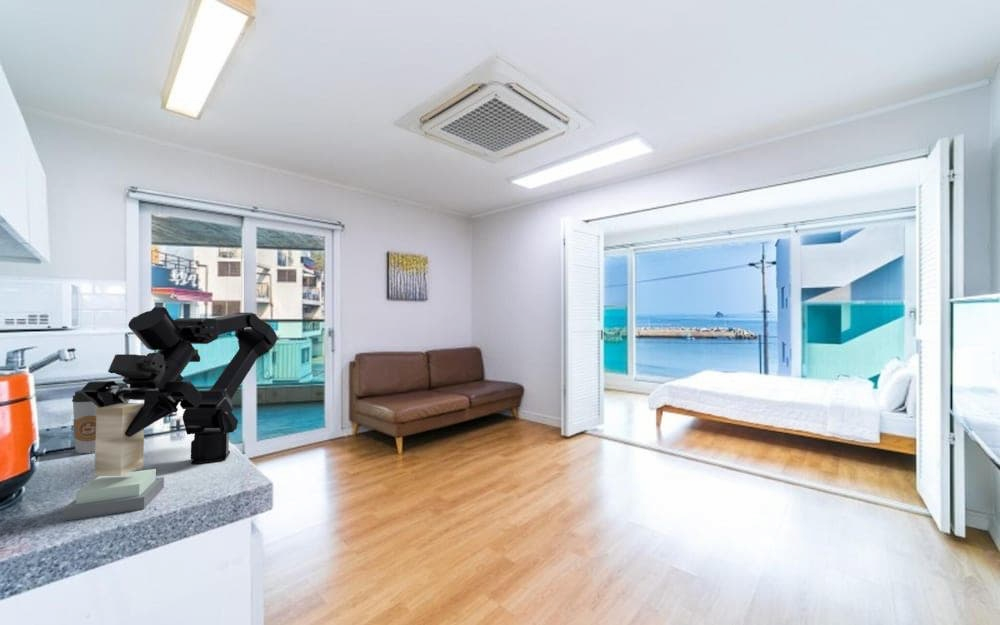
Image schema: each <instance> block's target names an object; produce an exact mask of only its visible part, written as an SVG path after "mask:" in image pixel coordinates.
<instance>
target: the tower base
mask: <svg viewBox="0 0 1000 625" xmlns="http://www.w3.org/2000/svg"><path fill="white" fill-rule="evenodd" d="M156 474H157V469H156V468H153V469H144V470H134V471H131V472H129V473H126V474H124V475H122V476H96V477H95V479H93V480H91V481H90V482H89V483H87V484H86V485H85V486H83V487H81V488H80V489H79V490H76V493H75V497H76V498H75V500H73V501H71V503H69V504H68V505H67V506H64V508H63V522H64V521H71V520H79V519H87V518H93V517H99V516H105V515H113V514H117V513H118V514H119V513H124V512H126V513H128V512H134V511H139V510H140V511H141V510H145V508H147V506H149V504H151V502H152V501H153V500H155V498H156V497H157V495H159V493H160V492H161V491H162V490H164V487H165V477H164V476H161V477H157V475H156Z"/></svg>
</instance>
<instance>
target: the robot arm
mask: <svg viewBox="0 0 1000 625" xmlns="http://www.w3.org/2000/svg"><path fill="white" fill-rule="evenodd" d="M128 328H129V330H131V331H132V333H133V334H135V336H136V337H137V338H138V340H139V341H140V342H141V343H142V344H143V345H144V347H145V348H146V349H148V350H152V351H156V352H148V353H147V354H146V355H145V354H143V355H141V354H131V353H130V354H127V353H126V354H125V353H124V354H118V353H117V354H115V355H114V357H113V359H112V361H111V363H110V366H109V368H108V370H107V372H108V374H109V373H110V374H116V375H118V376H120V377H124V378H123V379H122V380H121V381H122V382H123V383H124V384H126V385H129V386H128V387H122V386H120V385H119V384H117V383H116V382H115V380H93V381H88V382H87V383H86V384H85V385H84V386H83V387H82V388H81V389H80V390H81V393H82V394H83V395H85V396H86V397H87V398H88V399H89V400H90V401H92V402H93V403H94V404H95V405H96V406H98V407H99V408H100V407H105V406H110V405H115V404H119V403H129V402H130V400H132V401H144V402H143V403H144V405H143V406H142V408H141V409H140V411H139V412H138V414H137V415H136V416H135V418H134V419H133V421H132V422H131V424H130V425H129V427H128V429H127V430H126V432H125V435H126V436H127V437H131V436H133V435H134V434H136V433H138V432H139V431H141V430H142V429H144V430H145V429H146V428H147V427H149V426H151V425H153V424H155V422H157V421H159V420H161V419H163V418H165V417H167V416H169V415H170V414H173V413H177V412H178V411H179V409H178V405H180V408H181V409H183V410H184V411H183V414H182V421H183V426H184V429H185V432H186V435H193V440H192V441H191V442H190V460H191V462H190V464H191V465H195V464H203V463H213V462H219V461H220V462H221V461H226V460H227V458H228V457H229V455H230V454H231V450H229V448H230V447H229V446H230V433H233V432H234V431H236V430H237V427H238V423H239V420H238V418H237V417H236V416H235V415H234V413H233V412H232V411H233V410H234V407H233V402H232V399H233V397H234V395H236V392H237V391H238V389H239V387H240V386H241V384H242V383H243V381H244V380H245V378H246V377H247V375H248V374H249V373H250V371H251V369H252V367H253V366H254V364H256V362H257V360H258V359H259V358H260V357H262V356H264V355H266V354H268V353H269V352H270V351H271V350H272V348H274V346H275V345H276V344H277V340H278V335H277V333H276V331H275V330H274V328H273V327H272V326H271V324H269V323H267V322H265V321H264V320H262V319H260V318H259V317H258V315H257V314H256V313H253V312H235V313H232V314H227V315H222V316H216V317H210V318H206V317H200V318H199V317H198V318H197V317H180V318H179V317H178V318H176V319H174V318H172V316H171V315H170V313H169V310H167V308H166V307H164V306H154V307H153V308H152V309H151V310H149V311H148V310H147V311H145V312H141V314H140V313H139V314H138V315H136V316H134V317H132V318H131V319H130V320H129V322H128ZM230 332H235V333H234V337H235V338H236V339H237V344H238V350H237V351H236V353H235V355H234V356H233V357H232V358H231V360H230V361H229V363H228V364H227V366H226V367H225V368H224V370H223V372H222V373H221V374H220V375H219V377H218V379H217V380H216V381H215V382H214V384H213V385H212V387H211V388H210V389H209V390H199V389H198V388H197V387H196V386H195V385H194V384H193V383H192V381H191V380H183V379H184V377H183V375H182V373H183V371H184V370H185V369H186V367H187V366H188V365H189V363H195V362H196V363H200V361H201V356H200V354H199V349H196V348H195V347H194V346H193V345H208V344H210V343H212V342H214V341H216V340H217V339H218V338H219V336H220V335H223V334H229V333H230Z"/></svg>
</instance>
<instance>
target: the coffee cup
mask: <svg viewBox="0 0 1000 625" xmlns="http://www.w3.org/2000/svg"><path fill="white" fill-rule="evenodd" d="M81 390H82V389H80V390H76V391H75V392H74V395H72V399H71V402H72V410H73V436H74V446H75V449H74V450H75V452H76V453H77V452H78V453H89V452H95V444H96V414H97V408H99V407H98V406H96V405H95V404H94V403H93V402H92V401H90V400H89V399H88V398H87V397H86V396H85V395H83V394H82V393H81ZM78 453H77V454H78Z"/></svg>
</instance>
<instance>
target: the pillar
mask: <svg viewBox="0 0 1000 625" xmlns="http://www.w3.org/2000/svg"><path fill="white" fill-rule="evenodd" d="M143 405H144V402H142V403H141V402H140V403H139V402H135V403H134V402H133V403H132V402H128V403H119V404H115V405H110V406H105V407H100V408H97V414H96V444H95V453H94V477H98V476H122V475H124V474H126V473H129V472H134V471H137V470H139V469H141V468H143V467H144V445H145V444H144V443H145V440H144V439H145V428H144V429H142V430H141V431H139V432H138V433H136V434H134V435H133V436H131V437H127V436H126V435H125V432H126V430H127V429H128V427H129V425H130V424H131V422H132V421H133V419H134V418H135V416H136V415H137V414H138V412H139V411H140V409H141V408H142V406H143Z"/></svg>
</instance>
